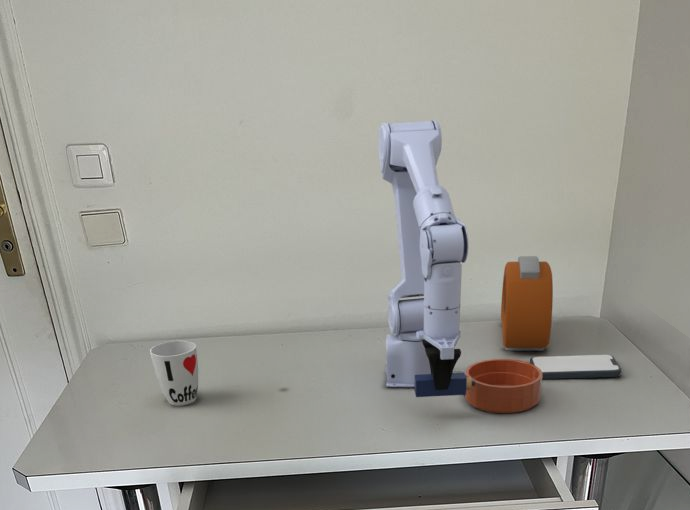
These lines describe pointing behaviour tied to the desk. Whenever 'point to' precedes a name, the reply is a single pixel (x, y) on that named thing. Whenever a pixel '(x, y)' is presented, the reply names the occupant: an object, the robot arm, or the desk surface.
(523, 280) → the alarm clock
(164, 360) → the cup
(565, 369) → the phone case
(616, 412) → the desk surface
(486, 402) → the bowl
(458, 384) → the pencil
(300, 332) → the desk surface
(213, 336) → the desk surface
